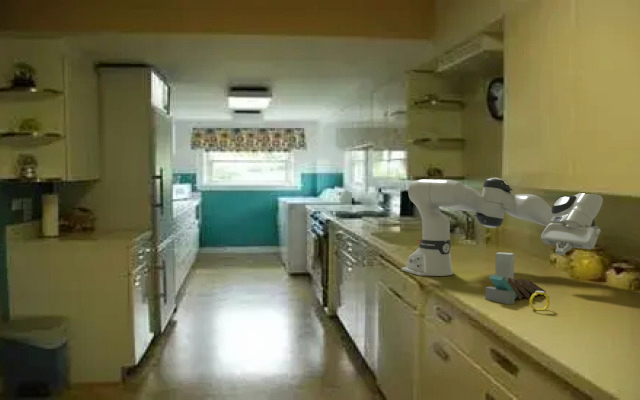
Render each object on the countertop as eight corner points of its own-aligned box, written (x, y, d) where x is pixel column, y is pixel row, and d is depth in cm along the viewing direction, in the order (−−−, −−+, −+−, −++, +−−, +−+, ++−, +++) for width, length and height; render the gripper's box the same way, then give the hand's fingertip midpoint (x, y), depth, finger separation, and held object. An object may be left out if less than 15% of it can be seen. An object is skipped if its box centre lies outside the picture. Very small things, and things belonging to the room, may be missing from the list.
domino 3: (528, 298, 212) (513, 283, 207) (515, 295, 216) (501, 280, 211) (530, 294, 212) (515, 279, 207) (517, 292, 216) (503, 276, 212)
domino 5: (544, 295, 217) (528, 285, 211) (532, 293, 221) (516, 282, 216) (546, 291, 217) (530, 280, 212) (533, 288, 221) (517, 278, 216)
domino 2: (520, 300, 209) (506, 281, 205) (508, 297, 214) (494, 279, 209) (522, 296, 210) (509, 277, 206) (510, 293, 214) (497, 275, 210)
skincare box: (513, 284, 236) (514, 253, 235) (511, 286, 233) (511, 254, 232) (497, 283, 239) (498, 251, 239) (494, 285, 236) (495, 253, 235)
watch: (545, 309, 197) (547, 291, 197) (550, 311, 194) (551, 292, 194) (527, 308, 196) (529, 290, 196) (531, 310, 193) (533, 291, 193)
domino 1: (515, 299, 208) (501, 280, 203) (502, 296, 212) (489, 278, 207) (517, 295, 208) (503, 276, 204) (505, 293, 212) (491, 274, 208)
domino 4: (536, 296, 214) (520, 284, 209) (524, 294, 218) (508, 282, 213) (538, 292, 215) (522, 280, 210) (526, 290, 219) (510, 278, 214)
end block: (485, 299, 211) (485, 287, 210) (490, 298, 212) (490, 286, 212) (509, 304, 202) (509, 292, 202) (514, 303, 204) (514, 291, 204)
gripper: (606, 233, 222) (589, 263, 217) (555, 228, 239) (538, 255, 234) (599, 221, 220) (582, 251, 215) (548, 217, 236) (531, 244, 231)
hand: (559, 253), depth 224 cm, fingers closed
